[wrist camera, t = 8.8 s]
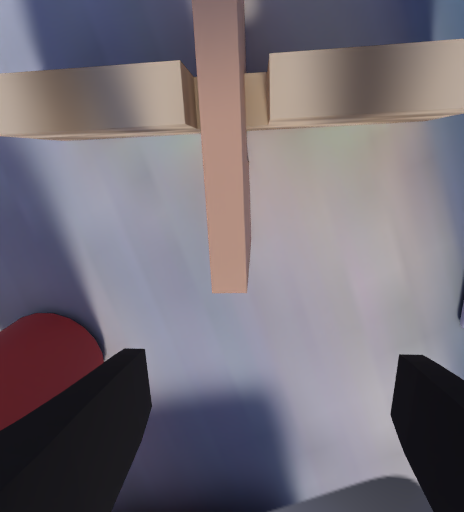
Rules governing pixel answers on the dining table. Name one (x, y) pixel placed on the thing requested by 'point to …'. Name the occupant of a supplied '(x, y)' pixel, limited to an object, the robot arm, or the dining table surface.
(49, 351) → the beer can
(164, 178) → the dining table surface
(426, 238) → the dining table surface
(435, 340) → the dining table surface
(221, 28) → the tan thin board
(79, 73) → the slotted rail
